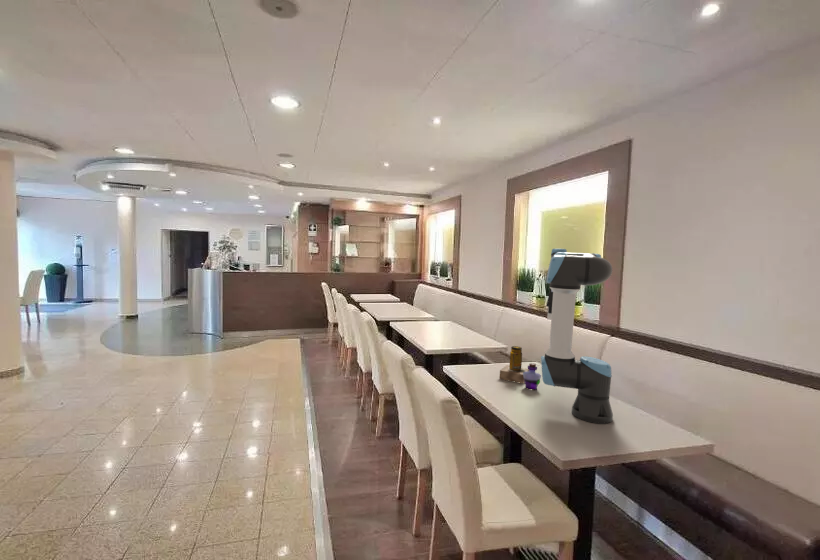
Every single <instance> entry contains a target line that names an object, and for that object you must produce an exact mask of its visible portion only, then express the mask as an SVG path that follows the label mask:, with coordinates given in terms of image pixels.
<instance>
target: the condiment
mask: <svg viewBox="0 0 820 560" xmlns="http://www.w3.org/2000/svg"><path fill="white" fill-rule="evenodd" d="M522 350H523V349H522V347H521V346H515V345H514V346H511V347H510V353H509V367H508V369H509V371H515V372H526V371H525V369H526V368H525V369H524V367H522V365H523V364H522V362H523V361H522V360H523V351H522Z"/></svg>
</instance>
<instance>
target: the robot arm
mask: <svg viewBox="0 0 820 560" xmlns="http://www.w3.org/2000/svg"><path fill="white" fill-rule="evenodd" d="M567 251H568V250H567V249H566V248H552V249H551V253H550V261H549V266H548V270H547V275H546V283H547V284H549V291H548V292H549V293H548V296H547V297H548V298H547V301H546V305H545V306H546V307H547V314H546V315H547V319H546V320H549V321H551V322H550V334H549V346H548V347H549V348H548V349H547V350H546V351H545V352H544V355H541V357H540V360H541V361H540V364H541V378H542V381H543V383H544V384H545V385H547V386H552V387H555V388H556V387H558V388H559V387H560V388H567V389H574V390H577V395H576V397H575V400H574V401H573V404H572V406H571V414H572V415H573V416H574V417H576V418H577V419H580V420H582V421H586V422H588V423H594V424H600V425H601V424H604V425H605V424H610V423H612V422H613V419H614V418H613V417H614V414H613V410H612V406H611V401H610V395H611V384H612V383H611V381H612V377H613V376H612V366H611V364H610V363H608V362H607V361H605V360H602V359H599V358H596V357H593V356H592V357H591V356H587V355H586V356H580V358H579V359H576V356H575V353H573V351H572V349H573V348H572V346H573V337H574V336H573V333H574V320H575V308H576V307H575V306H576V295H577V293H578V292H580V291H581V286H595V285H599V284H602V283H604V282H606V281H607V280H609V279H610V277H611V276H612V274H613V265H612V263H611V262H610V261H609V260H608V259H606V258H604V257H602V256H601V254H600V253H594V252H593V253H588V252H585V253H584V252H567Z"/></svg>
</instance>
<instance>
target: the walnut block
mask: <svg viewBox="0 0 820 560" xmlns="http://www.w3.org/2000/svg"><path fill="white" fill-rule="evenodd" d="M509 365H510V364H509ZM509 365H508V364H507V365H505V366H503V368H501V369H500V370H499V380H502V379H503V380H502V381H507V380H509V381H508V382H512V381H515V382H514V383H517V382H520V383H519V384H522V383H523V384H525V380H524V377H523V372H515V371H509V369H508V367H509ZM523 368H524V367H523ZM524 369H525V371H526V372H527V371H529V369H528V368H526V367H525V368H524Z"/></svg>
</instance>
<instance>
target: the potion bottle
mask: <svg viewBox="0 0 820 560" xmlns="http://www.w3.org/2000/svg"><path fill="white" fill-rule="evenodd" d="M527 369H529V371H527V372H523V377H524V380H525V382H524V385H525V387H526V388H528V389H527V390H529V389H534V390H533V391H536V390H537V389H538V385H539V384H540V383H541V378H542V374H541V373H539V372H537V370H538V366H537V365H536V363H533V362H532V363H529V364H528V365H527ZM526 388H525V389H526ZM535 389H536V390H535Z"/></svg>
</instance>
